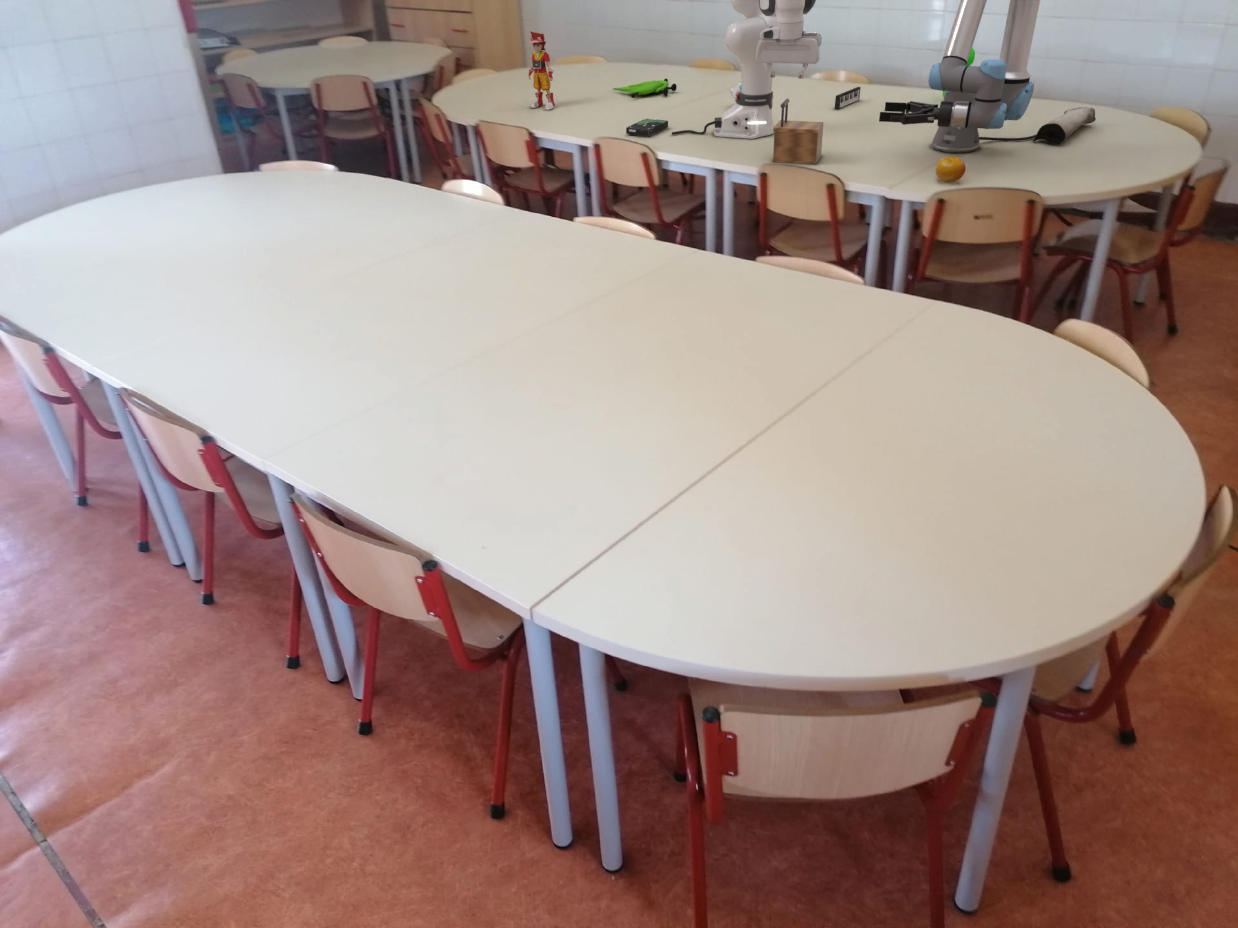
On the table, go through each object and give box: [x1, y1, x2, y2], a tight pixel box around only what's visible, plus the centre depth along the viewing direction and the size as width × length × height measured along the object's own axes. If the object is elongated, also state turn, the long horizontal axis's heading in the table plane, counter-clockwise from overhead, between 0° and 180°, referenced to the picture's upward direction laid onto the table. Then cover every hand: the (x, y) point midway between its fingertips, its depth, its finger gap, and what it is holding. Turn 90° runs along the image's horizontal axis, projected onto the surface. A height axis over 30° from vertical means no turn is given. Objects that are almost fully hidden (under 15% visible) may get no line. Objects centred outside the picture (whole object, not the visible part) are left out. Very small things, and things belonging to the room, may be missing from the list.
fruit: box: [935, 155, 967, 183], centre depth 275 cm, size 8×8×8 cm
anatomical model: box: [729, 81, 742, 102], centre depth 363 cm, size 15×10×10 cm
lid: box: [773, 98, 825, 133], centre depth 296 cm, size 15×10×9 cm, turn 69°
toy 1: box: [527, 31, 556, 111], centre depth 374 cm, size 12×9×30 cm
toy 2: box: [612, 78, 677, 99], centre depth 396 cm, size 28×5×30 cm
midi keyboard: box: [834, 86, 861, 110], centre depth 359 cm, size 18×1×5 cm, turn 138°
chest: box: [772, 126, 824, 165], centre depth 301 cm, size 14×10×10 cm, turn 69°
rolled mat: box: [1032, 106, 1097, 146], centre depth 310 cm, size 30×9×10 cm
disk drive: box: [625, 118, 669, 137], centre depth 342 cm, size 10×3×15 cm
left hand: (786, 78), depth 291 cm, fingers open, 8 cm apart
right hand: (882, 111), depth 286 cm, fingers open, 13 cm apart
